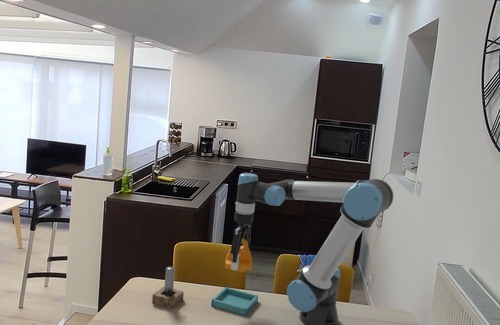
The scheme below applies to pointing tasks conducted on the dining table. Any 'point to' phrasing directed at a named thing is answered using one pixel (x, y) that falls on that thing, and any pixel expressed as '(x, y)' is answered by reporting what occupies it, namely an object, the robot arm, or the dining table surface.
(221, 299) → the tray
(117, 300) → the dining table surface
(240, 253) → the bracket
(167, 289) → the pin
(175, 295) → the tan square sleeve
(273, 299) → the dining table surface
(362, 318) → the dining table surface
